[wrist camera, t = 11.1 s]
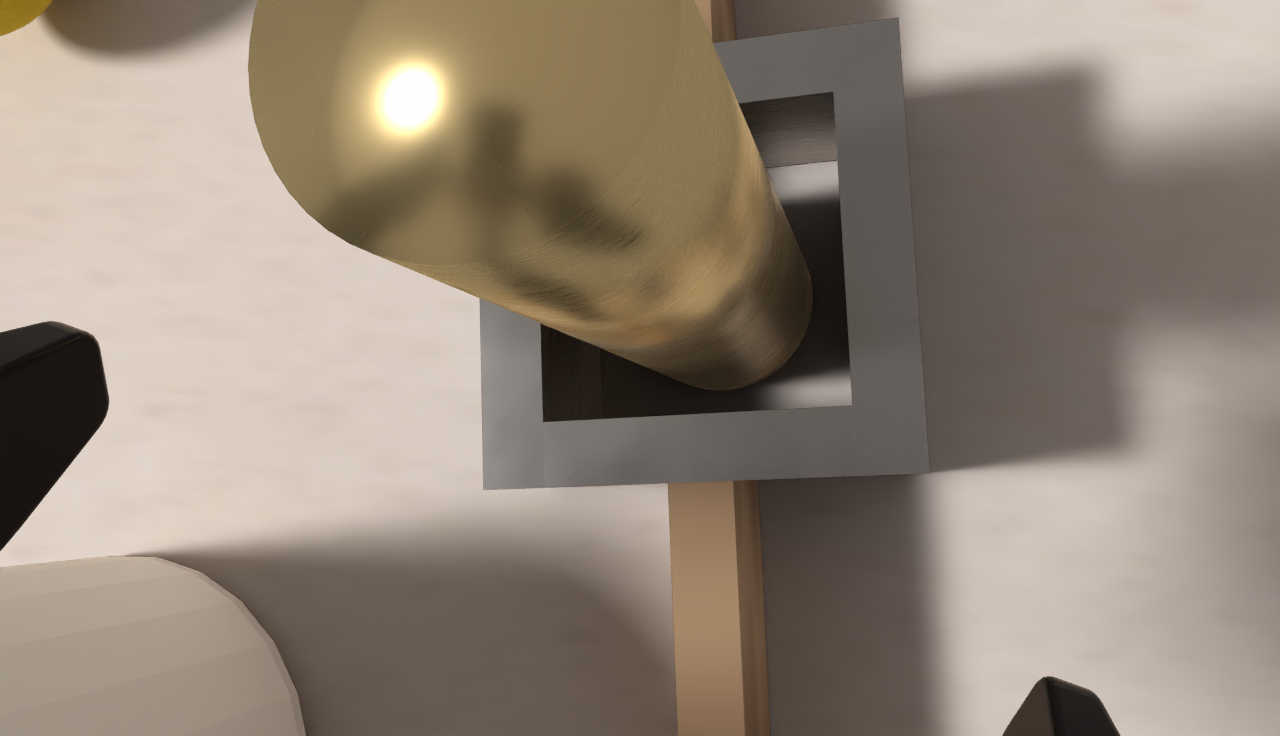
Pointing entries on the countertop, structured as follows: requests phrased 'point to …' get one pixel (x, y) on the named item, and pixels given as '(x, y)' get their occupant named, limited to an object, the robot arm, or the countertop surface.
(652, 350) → the hinge pin
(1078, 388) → the countertop surface
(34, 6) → the lemon
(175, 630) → the mug
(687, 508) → the hinge leaves
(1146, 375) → the countertop surface
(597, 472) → the gray square planter
